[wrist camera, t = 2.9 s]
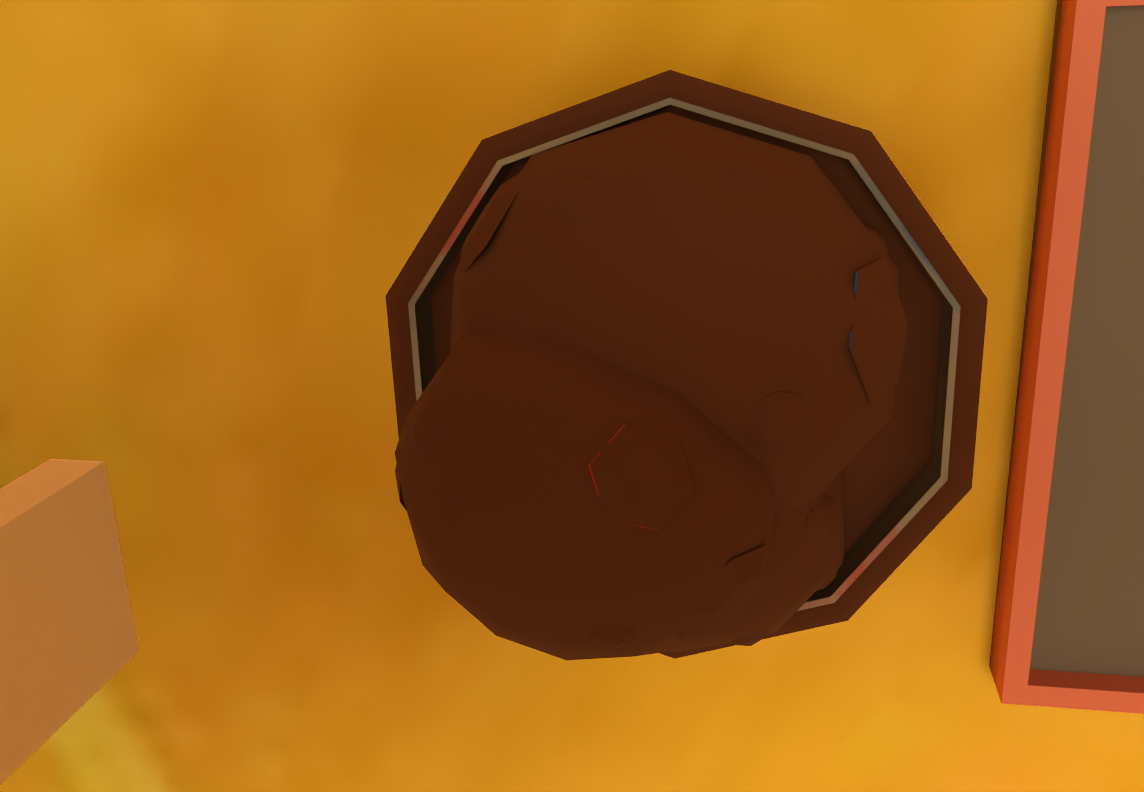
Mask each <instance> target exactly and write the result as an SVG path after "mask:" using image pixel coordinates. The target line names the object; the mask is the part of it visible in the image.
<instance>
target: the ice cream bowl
mask: <svg viewBox="0 0 1144 792" xmlns="http://www.w3.org/2000/svg"><path fill="white" fill-rule="evenodd" d="M386 305H387V315H388V326H389V337H390V348H391V359H392V370H393V380H394V391H395V402H396V413H397V424H398V434H399V442H398V445H397V448H396V451H395V455H396V461H397V464H396V470H395V473H396V479H397V486H398V492H399V498H400V502H401V504H402V505H403V507H404V508H405V509H406V511H407V513H408V516H409V520H410V523H411V527H412V530H413V533H414V537H415V540H416V544H417V547H418V550H419V554H420V557H421V561H422V564H423V566H424V567H425V568H426V569H427V570H428V572H429V573H430V574H431V575H432V576H433V577H434V579H435V580H436V581H437V582H438V583H439V584H440V586H441V587H442V588H443V589H444V590H445V591H446V592H447V593H448V594H449V595H450V596H452V597H453V598H454V599H455V600H456V601H457V602H458V603H460V604H461V605H462V606H463V607H464V608H465V609H466V610H468V611H469V612H470V613H471V614H472V615H473V616H475V617H476V618H477V619H478V620H479V621H480V622H481V623H483V624H484V625H485V626H486V627H487V628H488V629H489V630H491V631H492V632H493V633H494V634H495V635H496V636H499V637H502V638H505V639H508V640H511V641H513V642H516V643H519V644H522V645H525V646H528V647H530V648H533V649H536V650H539V651H542V652H545V653H548V654H550V655H553V656H556V657H559V658H562V659H565V660H577V659H595V658H613V657H630V656H639V655H646V654H653V653H661V654H664V655H666V656H669V657H672V658H679V657H683V656H688V655H692V654H697V653H701V652H706V651H711V650H715V649H720V648H724V647H729V646H733V645H744V646H751V645H753V644H755V643H756V642H758V641H760V640H761V639H765V638H770V637H774V636H779V635H783V634H788V633H793V632H797V631H802V630H806V629H811V628H815V627H820V626H824V625H829V624H834V623H838V622H843V621H847V620H849V618H850V617H851V616H852V615H853V614H854V613H855V612H856V611H857V610H858V609H859V608H860V607H861V606H862V605H863V604H864V602H865V601H866V600H867V599H868V598H869V597H870V596H871V595H872V594H873V593H874V592H875V591H876V590H877V589H878V588H879V586H880V585H881V584H882V583H883V582H884V581H885V580H886V579H887V578H888V577H889V576H890V575H891V574H892V573H893V572H894V570H895V569H896V568H897V567H898V566H899V565H900V564H901V563H902V562H903V561H904V560H905V559H906V558H907V557H908V556H909V554H910V553H911V552H912V551H913V550H914V549H915V548H916V547H917V546H918V545H919V544H920V543H921V542H922V541H923V540H924V538H925V537H926V536H927V535H928V534H929V533H930V532H931V531H932V530H933V529H934V528H935V527H936V526H937V525H938V524H939V522H940V521H941V520H942V519H943V518H944V517H945V516H946V515H947V514H948V513H949V512H950V511H951V510H952V509H953V508H954V506H955V505H956V504H957V503H958V502H959V501H960V500H961V499H962V498H963V497H964V496H965V495H966V494H967V493H968V492H969V490H970V489H971V488H972V476H973V465H974V453H975V441H976V429H977V417H978V405H979V393H980V381H981V370H982V358H983V346H984V334H985V322H986V310H987V298H986V296H985V295H984V293H983V292H982V290H981V289H980V288H979V286H978V285H977V283H976V282H975V280H974V279H973V278H972V276H971V275H970V273H969V272H968V270H967V269H966V267H965V266H964V265H963V263H962V262H961V260H960V259H959V257H958V256H957V255H956V253H955V252H954V250H953V249H952V247H951V246H950V244H949V243H948V242H947V240H946V239H945V237H944V236H943V234H942V233H941V232H940V230H939V229H938V227H937V226H936V224H935V223H934V221H933V220H932V219H931V217H930V216H929V214H928V213H927V211H926V210H925V209H924V207H923V206H922V204H921V203H920V201H919V200H918V198H917V197H916V196H915V194H914V193H913V191H912V190H911V188H910V187H909V186H908V184H907V183H906V181H905V180H904V178H903V177H902V175H901V174H900V173H899V171H898V170H897V168H896V167H895V165H894V164H893V163H892V161H891V160H890V158H889V157H888V155H887V154H886V152H885V151H884V150H883V148H882V147H881V145H880V144H879V142H878V141H877V140H876V138H875V137H874V135H873V134H872V132H871V131H868V130H864V129H861V128H858V127H854V126H851V125H848V124H845V123H841V122H838V121H835V120H832V119H828V118H825V117H822V116H818V115H815V114H812V113H809V112H805V111H802V110H799V109H796V108H792V107H789V106H786V105H782V104H779V103H776V102H773V101H769V100H766V99H763V98H759V97H756V96H753V95H750V94H746V93H743V92H740V91H737V90H733V89H730V88H727V87H723V86H720V85H717V84H714V83H710V82H707V81H704V80H701V79H697V78H694V77H691V76H687V75H684V74H681V73H678V72H674V71H671V70H669V71H666V72H663V73H660V74H658V75H655V76H652V77H650V78H647V79H644V80H642V81H639V82H636V83H634V84H631V85H628V86H626V87H623V88H620V89H618V90H615V91H612V92H609V93H607V94H604V95H601V96H599V97H596V98H593V99H591V100H588V101H585V102H583V103H580V104H577V105H575V106H572V107H569V108H567V109H564V110H561V111H558V112H556V113H553V114H550V115H548V116H545V117H542V118H540V119H537V120H534V121H532V122H529V123H526V124H524V125H521V126H518V127H516V128H513V129H510V130H507V131H505V132H502V133H499V134H497V135H494V136H491V137H489V138H486V139H483V140H482V141H481V142H480V144H479V146H478V147H477V149H476V151H475V152H474V154H473V155H472V157H471V159H470V160H469V162H468V164H467V165H466V167H465V168H464V170H463V172H462V173H461V175H460V176H459V178H458V180H457V181H456V183H455V185H454V186H453V188H452V189H451V191H450V193H449V194H448V196H447V198H446V199H445V201H444V202H443V204H442V206H441V207H440V209H439V210H438V212H437V214H436V215H435V217H434V219H433V220H432V222H431V223H430V225H429V227H428V228H427V230H426V232H425V233H424V235H423V236H422V238H421V240H420V241H419V243H418V244H417V246H416V248H415V249H414V251H413V253H412V254H411V256H410V257H409V259H408V261H407V262H406V264H405V266H404V267H403V269H402V270H401V272H400V274H399V275H398V277H397V279H396V280H395V282H394V283H393V285H392V287H391V288H390V290H389V291H388V293H387V295H386Z"/></svg>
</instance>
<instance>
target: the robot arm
mask: <svg viewBox="0 0 1144 792" xmlns="http://www.w3.org/2000/svg"><path fill="white" fill-rule="evenodd" d="M138 651H139V650H138V644H137V639H136V633H135V628H134V622H133V616H132V611H131V605H130V599H129V594H128V588H127V583H126V577H125V571H124V566H123V560H122V554H121V549H120V543H119V537H118V532H117V526H116V521H115V515H114V509H113V504H112V498H111V492H110V487H109V481H108V475H107V470H106V464H105V461H95V460H71V459H49V460H48V461H46V462H44V463H42V464H41V465H39V466H37V467H36V468H34V469H32V470H31V471H29V472H27V473H25V474H24V475H22V476H20V477H19V478H17V479H15V480H14V481H12V482H10V483H8V484H7V485H5V486H3V487H2V488H0V785H1V784H2V783H3V782H4V781H5V780H6V779H7V778H8V777H9V776H10V775H11V774H12V773H13V772H14V771H15V770H16V769H17V768H18V767H19V766H20V765H22V764H23V763H24V762H25V761H26V760H27V759H28V758H29V757H30V756H31V755H32V754H33V753H34V752H35V751H36V750H37V749H38V748H39V747H40V746H41V745H42V744H43V743H44V742H45V741H46V740H47V739H48V738H49V737H51V736H52V735H53V734H54V733H55V732H56V731H57V730H58V729H59V728H60V727H61V726H62V725H63V724H64V723H65V722H66V721H67V720H68V719H69V718H70V717H71V716H72V715H73V714H74V713H75V712H76V711H77V710H78V709H79V708H81V707H82V706H83V705H84V704H85V703H86V702H87V701H88V700H89V699H90V698H91V697H92V696H93V695H94V694H95V693H96V692H97V691H98V690H99V689H100V688H101V687H102V686H103V685H104V684H105V683H106V682H107V681H108V680H109V679H111V678H112V677H113V676H114V675H115V674H116V673H117V672H118V671H119V670H120V669H121V668H122V667H123V666H124V665H125V664H126V663H127V662H128V661H129V660H130V659H131V658H132V657H133V656H134V655H135V654H136V653H137V652H138Z"/></svg>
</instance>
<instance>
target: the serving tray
mask: <svg viewBox="0 0 1144 792" xmlns="http://www.w3.org/2000/svg"><path fill="white" fill-rule="evenodd" d="M989 667H990V670H991V673H992V676H993V679H994V682H995V685H996V688H997V691H998V694H999V697H1000V700H1001V703H1005V704H1019V705H1033V706H1047V707H1060V708H1074V709H1088V710H1101V711H1115V712H1129V713H1143V714H1144V0H1057V9H1056V19H1055V28H1054V38H1053V48H1052V58H1051V68H1050V77H1049V87H1048V97H1047V107H1046V117H1045V126H1044V136H1043V146H1042V156H1041V165H1040V175H1039V185H1038V195H1037V205H1036V214H1035V224H1034V234H1033V244H1032V254H1031V263H1030V273H1029V283H1028V293H1027V303H1026V312H1025V322H1024V332H1023V342H1022V352H1021V361H1020V371H1019V381H1018V391H1017V401H1016V410H1015V420H1014V430H1013V440H1012V449H1011V459H1010V469H1009V479H1008V489H1007V498H1006V508H1005V518H1004V528H1003V538H1002V547H1001V557H1000V567H999V577H998V587H997V596H996V606H995V616H994V626H993V636H992V645H991V655H990V665H989Z"/></svg>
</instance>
